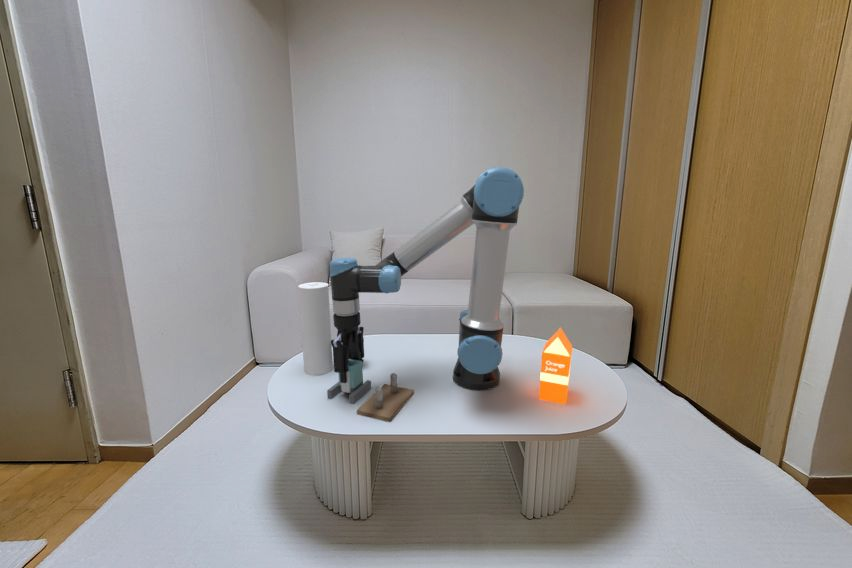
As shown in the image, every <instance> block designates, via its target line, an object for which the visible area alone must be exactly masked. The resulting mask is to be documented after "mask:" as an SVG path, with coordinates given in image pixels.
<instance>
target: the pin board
mask: <svg viewBox="0 0 852 568" xmlns="http://www.w3.org/2000/svg"><path fill="white" fill-rule="evenodd" d="M389 383H390V384H387V383H384V384H383V385H382V386H377V387H376V388H375V391H374V393H373V394H372V395H371V396H370V397H369V398H368V399H367V400H366V401H365V402H363V403H362V404H361V405H360V407H358V408H357V409H356V415H359V416H363V417H367V418H372V419H376V420H380V421H384V422H388V423H390V422H391V421H393V419H394V418H395V417H396V416H397V414H399V412H400V411H401V410H402V408H403V407H404V406H405V405H406V403H407V402H409V400H410V399H411V398H412V397H413V395H415V389H412V388H407V387H402V386H398V375H397V373H396V372H392V373H391V374H390V382H389Z"/></svg>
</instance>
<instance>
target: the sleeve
mask: <svg viewBox="0 0 852 568" xmlns="http://www.w3.org/2000/svg"><path fill="white" fill-rule="evenodd" d="M348 371H350V385H351V392H350V393H349V394H352V393H353V392H354V391H355V390H356V389H358V388H359V387H360V386H361V385H362V384H363V383H364V375H363V363H362V361H359V360H352V359H348ZM338 382H339V386H340V392H342V388H341V381H340V373H338Z"/></svg>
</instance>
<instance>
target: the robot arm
mask: <svg viewBox="0 0 852 568" xmlns="http://www.w3.org/2000/svg"><path fill="white" fill-rule="evenodd" d="M524 193H525V189H524V184H523V181H522V179H521V177H520V176H519V174H518V173H517V172H515V171H514V170H513V169H510V168H508V167H504V166H503V167H502V166H493V167H490V168H488V169H486V170H484V171H483V172H482V173H481V174H479V176H478V178H477V179H476V181H475V184H474V185H473V186H472V187H471V188H470V189H469V190H467V192H465V193H464V194H463V195H461V197H460V201H459V202H458V203H457V204H455V205H454V206H453V207H451V208H449V210H447V211H446V212H445V213H443V214H442V215H440V216H439V217H437V219H435V220H434V221H432V222H431V223H430V224H428V226H426V227H425V228H424V229H422V230H421V231H419V232H418V233H417V234H416V235H414V236H412V237H411V238H410V239H409V240H407V241H406V242H405V243H404V244H402V245H401V246H399V247H398V248H396V249H395V250H394V251H393V252H391V253H390V254H389V255H388V256H386V257H384V259H382V260H381V261H379V262H378V263H377V264H375V265H360V264H359V265H358V261H357V259H356V258H354V257H340V258H339V257H338V258H334V259H332V260H331V261H330V262H329V280H330V288H331V301H332V312H333V313H334V314H333V325H334V328H336V329H337V332H336V333H337V334H336V338H335V339H331V344H332V360H333V371H334V373H338V374H339V373H340V381H341V388H342V391H341V392H343V393H348V394H351V393H350V392H351V385H350V371H348V359H349V349H350V352H351V356H352V360H359V361H362V364H363V363H364V358H365V344H364V342H363V337H364V329H365V328H364V326H361V313H360V310H361V306H360V305H361V304H360V294H361V293H369V294H370V293H371V294H372V293H374V294H375V293H376V294H393V293H398V292H399V291H400V290H401V286H402V277H403V276H404V275H405V274H407V273H408V272H410V271H411V270H412V269H413V268H415V267H417V265H419V264H421V263H422V262H423V261H424V260H426V259H428V258H429V257H430V256H432V255H433V254H434V253H435V252H437V251H438V250H441V248H443V247H444V246H445V245H447V244H448V243H449V242H451V241H452V240H453V239H455V238H456V237H458V236H459V235H460V234H462V233H463V232H465V231H466V230H467V229H469V228H470V227H471V226H473V225H475V227H476V231H475V238H474V239H475V240H474V249H473V250H474V251H473V260H472V269H471V277H470V286H469V295H468V297H469V298H468V304H467V309H464V310H462V311H461V312H460V314H459V319H458V320H459V328H458V329H459V331H458V332H459V334H458V348H457V351H456V352H457V353H456V354H457V360H456V362H455V365H454V368H453V371H452V379H453V382H454V383H455V384H456V385H457V386H460V387H461V388H463V389H467V390H471V391H487V390H488V391H489V390H491V389H494V388H495V387H498V386H499V385H500V382H501V373H500V369H499V366H500V364H501V362H502V359H503V349H502V341H503V332H504V322H503V321H502V320H501V319H500V312H501V305H502V304H501V303H502V296H503V290H504V288H503V287H504V279H505V273H506V266H507V264H506V263H507V257H508V248H509V240H510V234H511V230H512V229H513V228H515V226H517V225H518V220H519V219H518V218H519V212H520V205H521V203H522V202H523V199H524V196H525V195H524ZM359 293H360V294H359ZM360 353H361V354H360Z"/></svg>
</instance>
